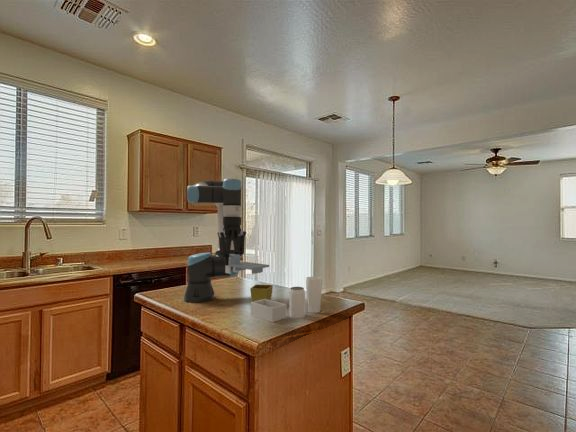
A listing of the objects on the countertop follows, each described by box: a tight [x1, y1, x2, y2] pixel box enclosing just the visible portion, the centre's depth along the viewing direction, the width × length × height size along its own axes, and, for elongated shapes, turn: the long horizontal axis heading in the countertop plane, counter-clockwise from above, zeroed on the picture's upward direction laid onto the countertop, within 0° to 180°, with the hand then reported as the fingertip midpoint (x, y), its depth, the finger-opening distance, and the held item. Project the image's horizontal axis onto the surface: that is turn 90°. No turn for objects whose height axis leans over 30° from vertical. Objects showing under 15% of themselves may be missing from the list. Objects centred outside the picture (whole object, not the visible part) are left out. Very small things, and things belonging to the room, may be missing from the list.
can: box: [288, 286, 306, 319], centre depth 130 cm, size 6×6×12 cm
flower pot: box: [249, 283, 274, 302], centre depth 148 cm, size 9×9×9 cm
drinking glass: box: [305, 276, 323, 314], centre depth 137 cm, size 7×7×15 cm
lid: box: [228, 254, 270, 275], centre depth 125 cm, size 19×9×6 cm, turn 49°
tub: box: [250, 299, 287, 323], centre depth 129 cm, size 13×8×6 cm, turn 47°
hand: (232, 272), depth 130 cm, fingers closed on lid, 3 cm apart
